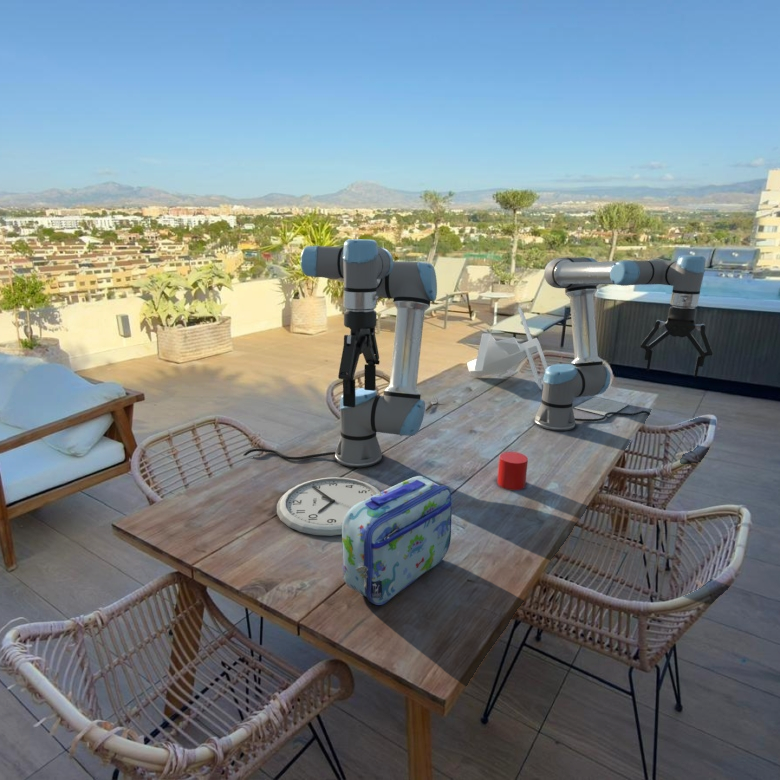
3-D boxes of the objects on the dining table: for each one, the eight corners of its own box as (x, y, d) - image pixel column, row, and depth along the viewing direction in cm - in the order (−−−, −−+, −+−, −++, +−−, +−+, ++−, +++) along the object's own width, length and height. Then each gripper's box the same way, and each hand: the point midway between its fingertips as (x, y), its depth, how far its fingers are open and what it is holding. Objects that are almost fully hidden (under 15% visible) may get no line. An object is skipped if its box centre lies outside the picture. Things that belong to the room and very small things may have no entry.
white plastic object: (487, 418, 267) (468, 395, 242) (469, 346, 289) (449, 318, 264) (558, 394, 255) (545, 368, 230) (533, 321, 277) (518, 289, 252)
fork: (422, 411, 216) (422, 407, 215) (433, 400, 230) (433, 396, 230) (428, 412, 215) (429, 407, 215) (438, 401, 230) (439, 396, 229)
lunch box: (371, 618, 102) (371, 524, 95) (336, 591, 109) (334, 502, 103) (455, 562, 119) (460, 479, 113) (420, 542, 126) (423, 463, 120)
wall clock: (392, 527, 129) (268, 531, 127) (391, 533, 130) (269, 537, 127) (383, 473, 158) (282, 475, 155) (383, 478, 158) (282, 480, 156)
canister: (509, 475, 162) (512, 449, 160) (530, 485, 156) (533, 458, 153) (491, 482, 158) (493, 455, 155) (512, 492, 151) (515, 465, 149)
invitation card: (608, 416, 214) (573, 407, 224) (608, 416, 214) (573, 408, 224) (628, 404, 229) (594, 396, 238) (628, 405, 229) (594, 397, 238)
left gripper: (355, 318, 107) (355, 416, 113) (392, 303, 130) (391, 385, 136) (321, 316, 109) (323, 412, 116) (364, 302, 132) (364, 382, 138)
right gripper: (638, 304, 165) (628, 369, 171) (731, 312, 153) (716, 381, 159) (640, 302, 171) (630, 365, 177) (729, 308, 159) (715, 375, 166)
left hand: (360, 397), depth 126 cm, fingers open, 13 cm apart
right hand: (671, 373), depth 168 cm, fingers open, 13 cm apart
